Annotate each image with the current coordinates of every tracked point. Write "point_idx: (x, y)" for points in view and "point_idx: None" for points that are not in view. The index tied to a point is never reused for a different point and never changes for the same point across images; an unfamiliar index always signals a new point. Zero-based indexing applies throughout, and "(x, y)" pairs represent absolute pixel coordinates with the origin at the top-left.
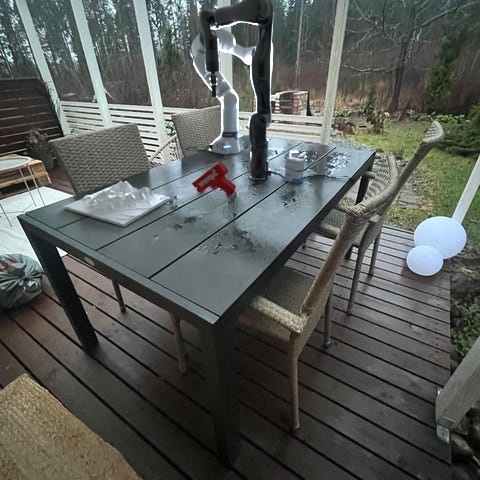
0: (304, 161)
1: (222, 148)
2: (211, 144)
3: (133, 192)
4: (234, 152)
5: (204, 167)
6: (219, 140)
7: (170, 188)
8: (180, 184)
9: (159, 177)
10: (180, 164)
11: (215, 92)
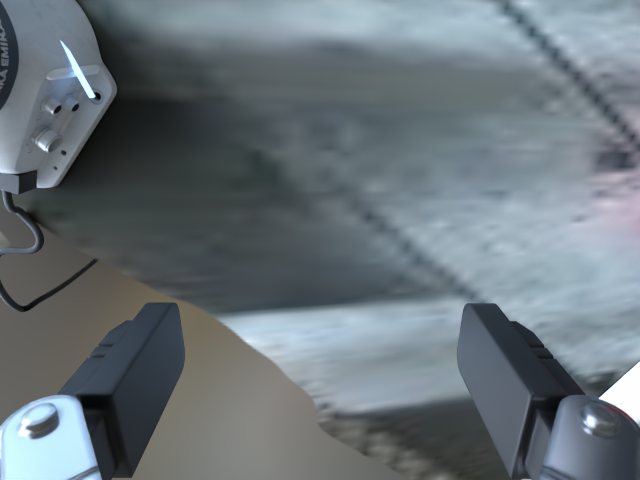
0: None
1: (76, 107)
2: (14, 181)
3: (637, 423)
4: (84, 21)
5: (352, 209)
6: (17, 129)
7: (580, 323)
8: (550, 294)
9: (450, 370)
10: (292, 315)
11: (524, 356)
